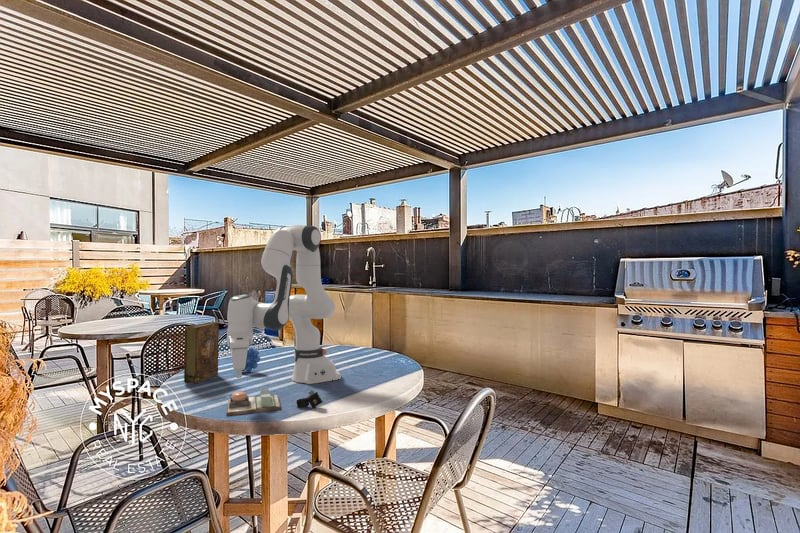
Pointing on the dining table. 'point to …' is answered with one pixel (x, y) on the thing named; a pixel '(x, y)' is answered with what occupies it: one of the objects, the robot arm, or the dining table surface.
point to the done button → (239, 396)
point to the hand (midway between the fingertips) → (239, 376)
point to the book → (201, 352)
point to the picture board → (251, 405)
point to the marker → (265, 397)
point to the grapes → (251, 359)
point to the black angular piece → (309, 400)
